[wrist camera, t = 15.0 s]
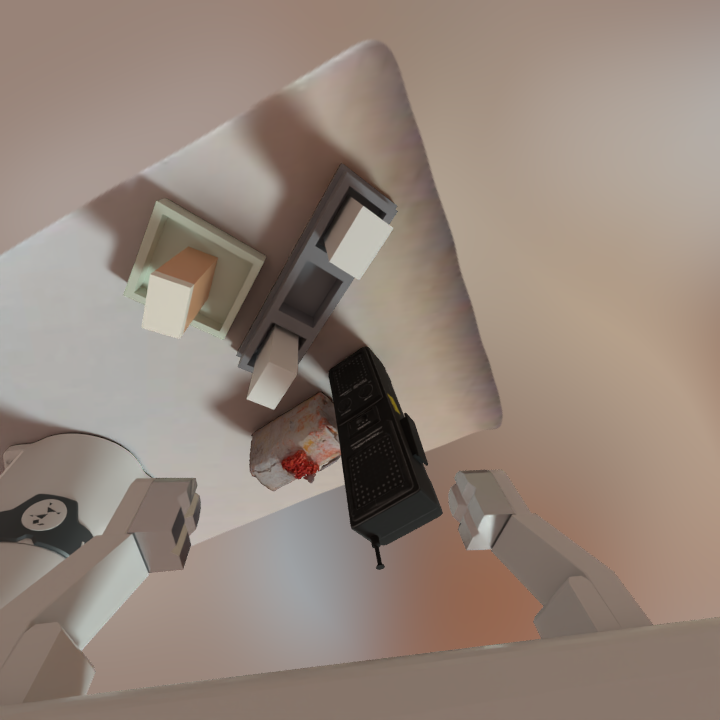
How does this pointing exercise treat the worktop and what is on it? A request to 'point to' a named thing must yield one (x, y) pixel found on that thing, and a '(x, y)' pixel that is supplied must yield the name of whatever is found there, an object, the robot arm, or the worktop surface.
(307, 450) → the food item
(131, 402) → the worktop surface
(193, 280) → the block
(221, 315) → the tray
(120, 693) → the robot arm
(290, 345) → the fuse block
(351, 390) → the portable radio
